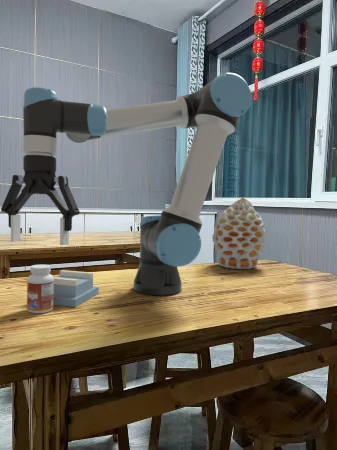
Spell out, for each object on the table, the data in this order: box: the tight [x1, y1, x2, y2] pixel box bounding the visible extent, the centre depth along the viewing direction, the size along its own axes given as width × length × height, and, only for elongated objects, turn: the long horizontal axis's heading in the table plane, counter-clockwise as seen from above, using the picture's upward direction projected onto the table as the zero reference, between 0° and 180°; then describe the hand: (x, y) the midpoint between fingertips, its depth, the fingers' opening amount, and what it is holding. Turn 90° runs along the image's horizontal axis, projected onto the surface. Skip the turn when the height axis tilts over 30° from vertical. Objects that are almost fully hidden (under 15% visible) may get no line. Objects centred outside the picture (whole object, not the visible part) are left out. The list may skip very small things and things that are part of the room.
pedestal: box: [53, 269, 100, 308], centre depth 102 cm, size 12×14×6 cm
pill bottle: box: [26, 264, 54, 314], centre depth 90 cm, size 6×6×11 cm
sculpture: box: [211, 197, 266, 270], centre depth 156 cm, size 21×22×30 cm
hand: (39, 242), depth 90 cm, fingers open, 13 cm apart
